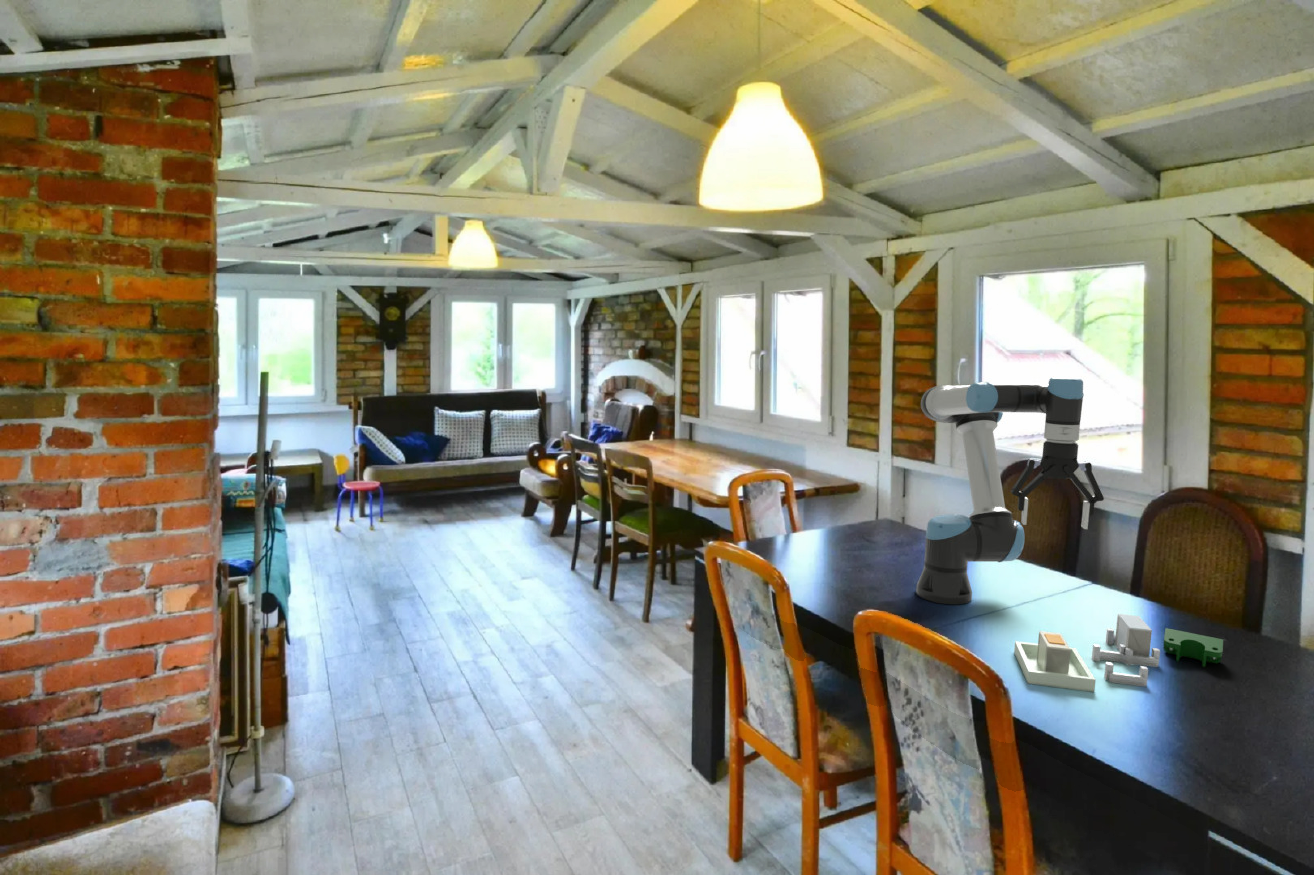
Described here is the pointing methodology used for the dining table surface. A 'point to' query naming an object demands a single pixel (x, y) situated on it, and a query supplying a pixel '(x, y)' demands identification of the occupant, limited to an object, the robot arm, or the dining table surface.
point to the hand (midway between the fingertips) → (1053, 525)
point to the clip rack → (1127, 658)
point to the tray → (1074, 679)
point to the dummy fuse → (1133, 634)
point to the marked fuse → (1053, 653)
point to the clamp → (1193, 646)
